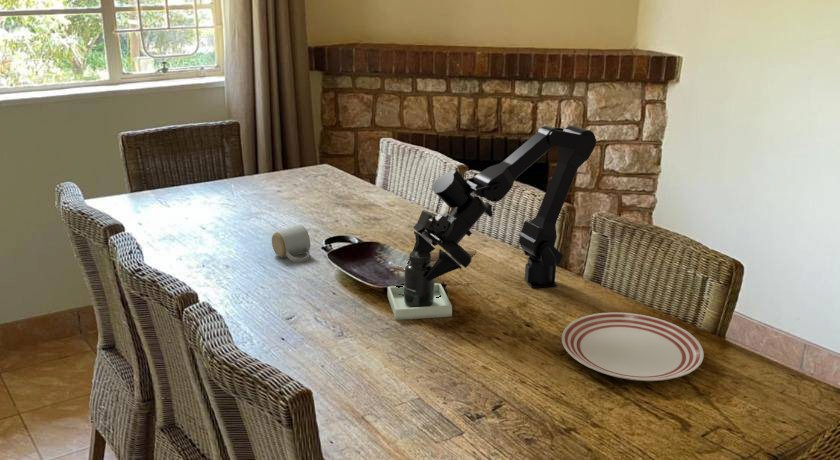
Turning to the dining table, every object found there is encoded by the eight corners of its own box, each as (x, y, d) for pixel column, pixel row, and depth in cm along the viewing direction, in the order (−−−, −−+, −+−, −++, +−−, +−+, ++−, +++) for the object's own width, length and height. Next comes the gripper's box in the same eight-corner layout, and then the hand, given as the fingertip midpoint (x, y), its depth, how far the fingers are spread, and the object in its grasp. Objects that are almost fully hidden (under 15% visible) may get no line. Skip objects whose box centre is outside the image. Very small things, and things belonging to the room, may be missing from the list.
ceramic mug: (270, 253, 205) (269, 226, 202) (297, 247, 210) (296, 220, 207) (290, 266, 197) (289, 238, 194) (317, 259, 202) (317, 232, 199)
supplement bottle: (402, 308, 172) (402, 259, 168) (405, 296, 179) (406, 247, 175) (433, 310, 172) (434, 260, 168) (435, 297, 178) (436, 249, 174)
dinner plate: (681, 408, 137) (683, 391, 136) (539, 365, 151) (540, 350, 150) (715, 347, 159) (717, 332, 158) (588, 315, 173) (590, 301, 172)
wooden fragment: (404, 277, 191) (404, 273, 191) (384, 263, 201) (384, 259, 200) (490, 260, 204) (490, 257, 203) (467, 248, 213) (467, 244, 212)
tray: (440, 293, 182) (440, 283, 181) (451, 316, 170) (452, 306, 170) (387, 296, 180) (387, 286, 179) (395, 320, 168) (395, 309, 167)
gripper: (421, 187, 177) (377, 239, 176) (460, 210, 161) (412, 267, 160) (450, 215, 183) (408, 265, 182) (491, 240, 167) (445, 295, 166)
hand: (417, 272), depth 172 cm, fingers open, 9 cm apart
